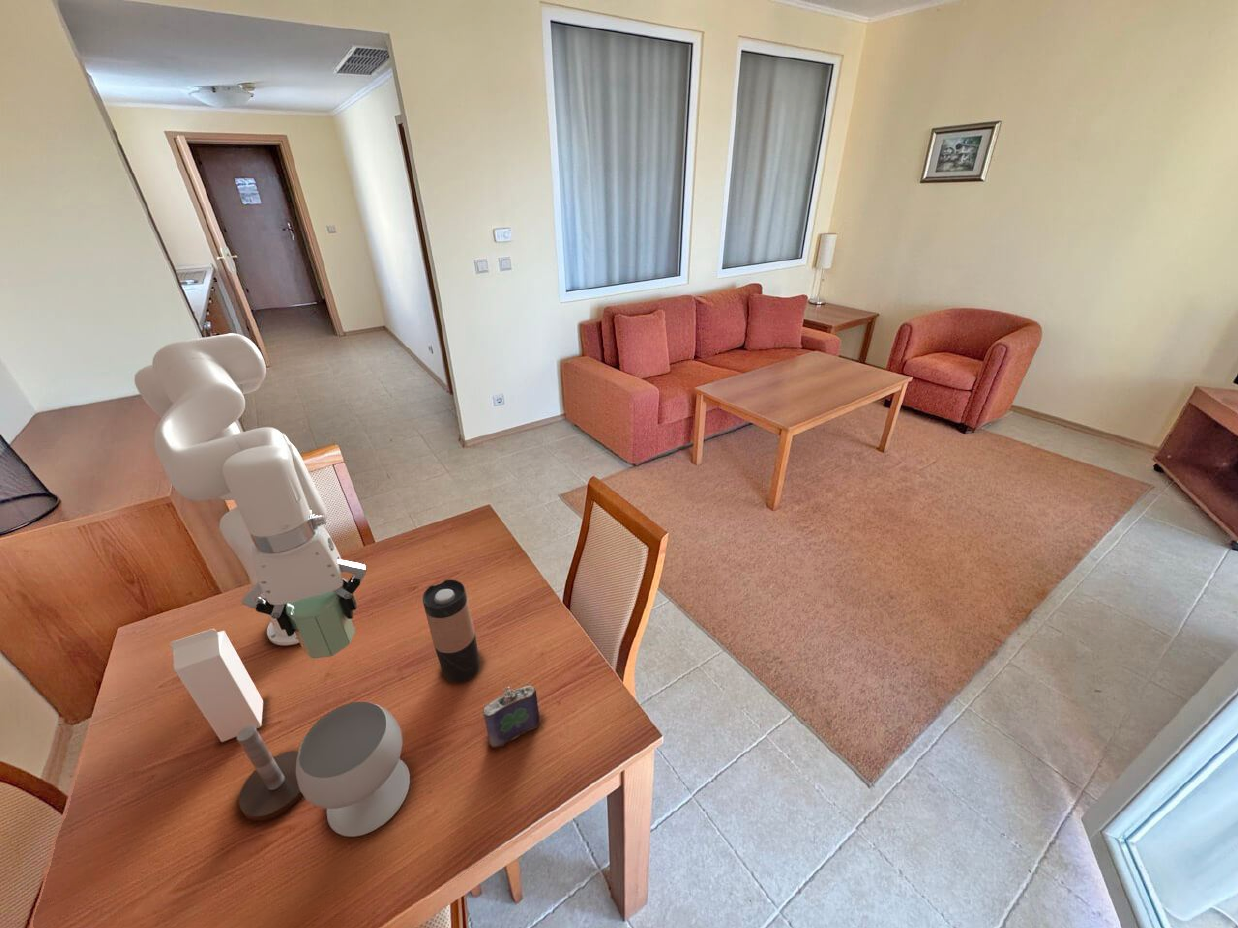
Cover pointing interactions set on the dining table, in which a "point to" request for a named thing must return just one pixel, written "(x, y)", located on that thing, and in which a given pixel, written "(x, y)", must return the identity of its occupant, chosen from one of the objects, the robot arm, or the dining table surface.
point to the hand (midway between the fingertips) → (321, 620)
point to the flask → (511, 715)
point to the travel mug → (452, 630)
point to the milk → (218, 682)
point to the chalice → (354, 767)
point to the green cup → (320, 624)
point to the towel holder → (267, 779)
